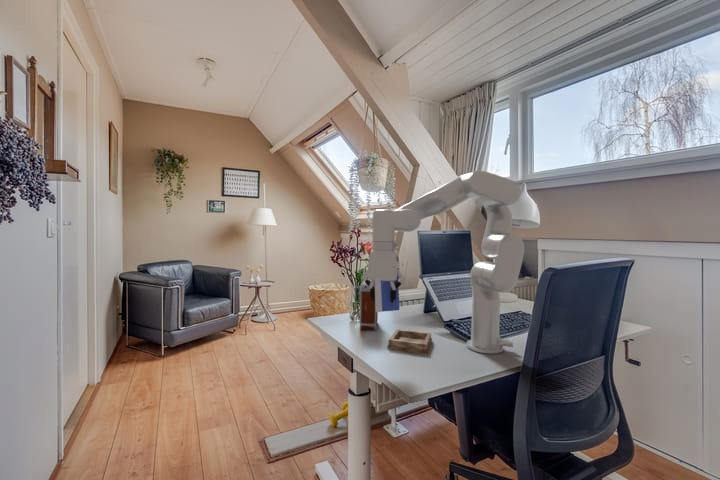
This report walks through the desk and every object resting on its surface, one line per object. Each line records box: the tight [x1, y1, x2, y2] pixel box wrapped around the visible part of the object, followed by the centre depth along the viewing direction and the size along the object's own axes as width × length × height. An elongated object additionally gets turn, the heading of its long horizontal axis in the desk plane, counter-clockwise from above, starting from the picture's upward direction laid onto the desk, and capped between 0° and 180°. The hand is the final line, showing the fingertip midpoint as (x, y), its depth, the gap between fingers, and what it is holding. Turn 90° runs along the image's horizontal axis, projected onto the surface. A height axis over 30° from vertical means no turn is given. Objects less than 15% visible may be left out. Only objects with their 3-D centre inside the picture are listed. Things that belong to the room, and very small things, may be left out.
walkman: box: [374, 276, 400, 313], centre depth 112 cm, size 8×3×12 cm, turn 97°
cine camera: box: [359, 279, 379, 331], centre depth 149 cm, size 9×19×20 cm, turn 174°
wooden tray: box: [386, 328, 433, 355], centre depth 124 cm, size 14×14×3 cm
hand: (383, 300), depth 112 cm, fingers closed on walkman, 5 cm apart
